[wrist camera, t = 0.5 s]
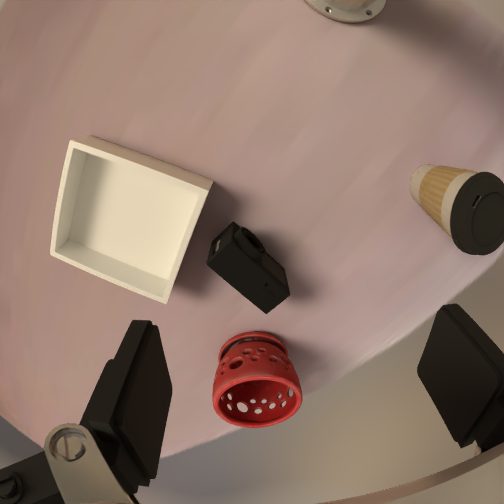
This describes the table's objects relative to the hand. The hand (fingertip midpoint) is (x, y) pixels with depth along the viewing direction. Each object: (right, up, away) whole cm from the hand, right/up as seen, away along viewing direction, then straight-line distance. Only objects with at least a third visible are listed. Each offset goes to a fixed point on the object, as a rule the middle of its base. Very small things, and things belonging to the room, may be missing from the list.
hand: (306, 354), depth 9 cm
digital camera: (-2, +3, +35) cm, 35 cm away
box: (-18, +9, +31) cm, 37 cm away
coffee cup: (+24, +13, +30) cm, 41 cm away
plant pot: (-1, -14, +42) cm, 45 cm away
